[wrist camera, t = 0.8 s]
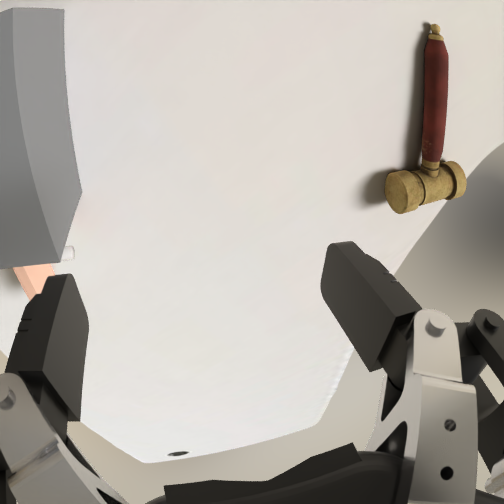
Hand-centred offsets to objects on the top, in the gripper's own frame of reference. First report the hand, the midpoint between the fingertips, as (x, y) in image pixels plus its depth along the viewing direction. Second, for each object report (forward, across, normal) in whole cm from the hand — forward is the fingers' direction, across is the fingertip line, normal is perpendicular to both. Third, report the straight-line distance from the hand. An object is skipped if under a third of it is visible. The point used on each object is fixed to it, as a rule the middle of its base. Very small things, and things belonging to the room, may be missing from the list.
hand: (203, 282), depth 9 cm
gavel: (+18, -25, -4) cm, 31 cm away
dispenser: (+18, +14, -5) cm, 23 cm away
